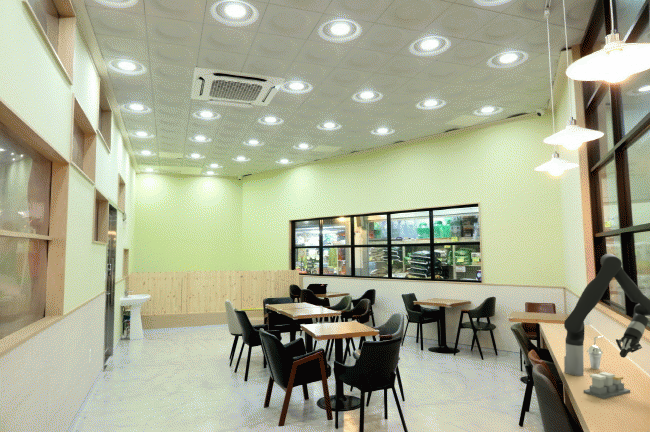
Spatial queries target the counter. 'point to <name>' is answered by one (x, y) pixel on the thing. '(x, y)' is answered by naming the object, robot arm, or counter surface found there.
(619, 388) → the keypad
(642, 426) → the counter surface
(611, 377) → the middle key
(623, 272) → the robot arm
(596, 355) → the cup with straw
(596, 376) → the front key
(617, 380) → the amber key
